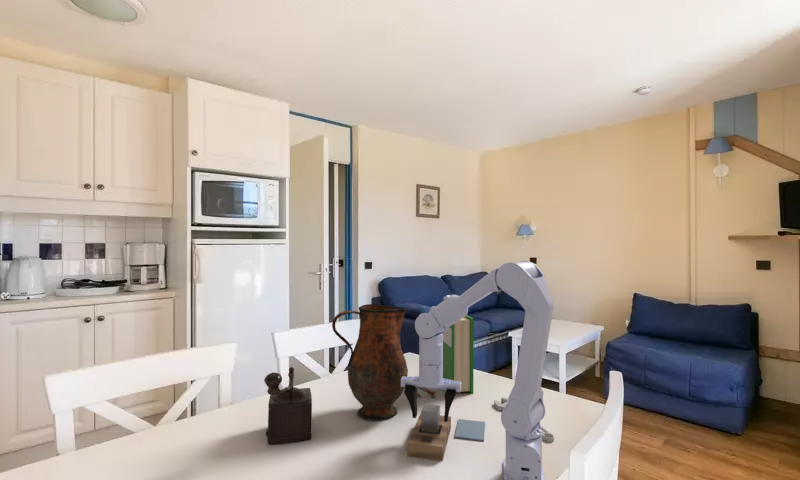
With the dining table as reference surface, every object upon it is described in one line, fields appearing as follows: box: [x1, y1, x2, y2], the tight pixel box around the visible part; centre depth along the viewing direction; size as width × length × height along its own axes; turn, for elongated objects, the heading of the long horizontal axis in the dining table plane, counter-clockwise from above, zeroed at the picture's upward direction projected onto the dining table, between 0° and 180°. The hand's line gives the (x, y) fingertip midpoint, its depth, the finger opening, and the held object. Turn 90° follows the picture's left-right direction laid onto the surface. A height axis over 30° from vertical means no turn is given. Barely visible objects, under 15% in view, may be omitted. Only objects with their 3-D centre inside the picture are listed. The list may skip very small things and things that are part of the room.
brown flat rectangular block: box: [406, 413, 452, 462], centre depth 97 cm, size 16×8×3 cm, turn 166°
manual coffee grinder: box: [263, 366, 313, 445], centre depth 99 cm, size 16×11×18 cm
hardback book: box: [443, 314, 475, 395], centre depth 136 cm, size 18×7×24 cm, turn 12°
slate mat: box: [454, 418, 486, 442], centre depth 103 cm, size 10×7×1 cm
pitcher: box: [331, 303, 409, 422], centre depth 112 cm, size 17×21×30 cm
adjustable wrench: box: [493, 397, 555, 443], centre depth 109 cm, size 25×6×2 cm, turn 11°
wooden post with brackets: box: [417, 387, 437, 399], centre depth 125 cm, size 2×8×4 cm, turn 84°
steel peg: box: [420, 403, 441, 435], centre depth 97 cm, size 4×4×8 cm
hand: (430, 418), depth 97 cm, fingers open, 7 cm apart
